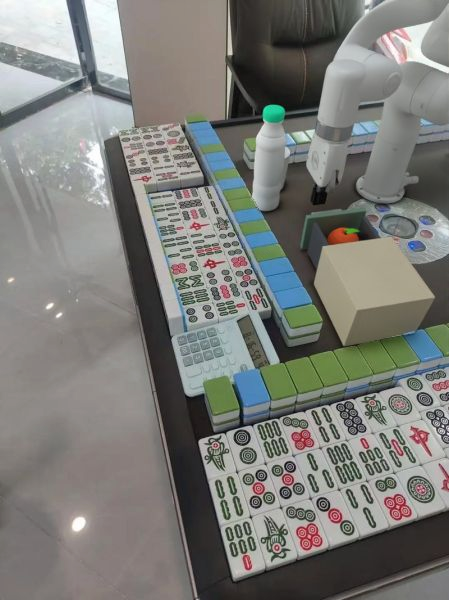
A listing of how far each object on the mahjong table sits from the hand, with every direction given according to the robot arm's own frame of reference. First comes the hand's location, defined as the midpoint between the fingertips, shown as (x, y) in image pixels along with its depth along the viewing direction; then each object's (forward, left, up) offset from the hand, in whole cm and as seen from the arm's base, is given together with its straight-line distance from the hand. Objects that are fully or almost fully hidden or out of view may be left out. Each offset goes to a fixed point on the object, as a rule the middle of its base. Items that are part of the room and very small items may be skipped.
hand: (317, 202), depth 102 cm
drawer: (0, +14, -5) cm, 15 cm away
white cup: (+6, -18, -6) cm, 20 cm away
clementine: (-1, +14, -4) cm, 15 cm away
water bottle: (+10, -10, -6) cm, 15 cm away
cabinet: (0, +28, -6) cm, 29 cm away
